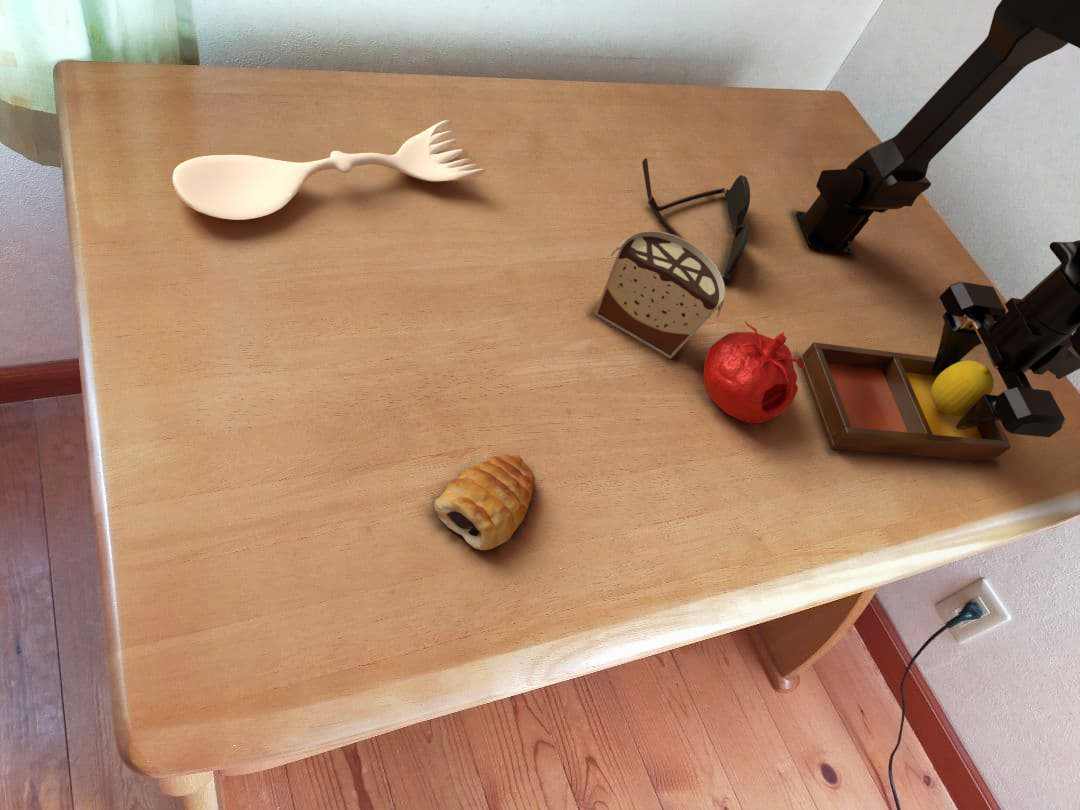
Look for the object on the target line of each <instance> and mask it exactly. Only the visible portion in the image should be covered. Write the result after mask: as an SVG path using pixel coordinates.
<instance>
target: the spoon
mask: <svg viewBox="0 0 1080 810" xmlns="http://www.w3.org/2000/svg"><path fill="white" fill-rule="evenodd" d="M451 125H452V120H451V119H445V120H442V121H440V122H438V123H436V124H433V125H432V126H430V127H429V128H427V129H425V130H424V131H421V132H420V133H418V134H416V135H414V136H412V137H410V138H409V139H407V140H406V141H405V142H403V144H402V145H401V146H400V147H399V150H397V152H396V153H395V154H391V155H390V154H385V153H379V152H360V153H345V152H342V151H340V150H333V151H331V152H330V153H329V154H330V155H329V157H326V158H322V159H318V160H317V159H316V160H312V161H307V162H294V161H288V160H280V159H275V158H267V157H262V156H256V155H247V154H217V155H216V154H213V155H202V156H198V157H197V156H196V157H194V158H190V159H187V160H186V161H183V162H181V163H179V164H178V165H177V166H176V167H175V168H174V170H173V172H172V184H173V187H174V190H175V192H176V194H177V196H178V197H179V198H180V200H181V201H182V202H183V203H184V204H185V205H187V206H188V207H190V208H191V209H193V210H194V211H196V212H199V213H201V214H203V215H206V216H209V217H213V218H218V219H223V220H224V219H225V220H234V221H236V220H238V221H242V220H243V221H244V220H250V219H251V220H252V219H256V218H257V219H258V218H261V217H265V216H268V215H270V214H273V213H275V212H277V211H279V210H281V209H282V208H284V206H286V205H287V204H288V203H289V202H290V201H291V200H292V199H293V198H294V197H295V195H296V194H297V193H298V192H299V190H300V189H301V188H302V186H303V185H304V183H306V182H307V180H308V179H309V178H311V177H312V176H313V175H315V174H316V173H319V172H322V171H326V170H337V171H338V172H340V173H343V174H348V173H350V172H351V171H352V170H353V168H355V167H359V166H365V165H377V166H383V167H387V168H389V169H392V170H395V171H397V172H398V173H401V174H404V175H405V176H409V177H411V178H414V179H417V180H421V181H425V182H433V183H434V182H435V183H436V182H438V183H439V182H449V181H457V180H467V179H474V178H475V179H476V178H479V177H480V176H482V175H484V174H485V173H486V168H477V169H475V168H476V167H477V166H478V164H477V163H470V164H468V163H469V162H471V160H472V158H470V157H468V158H462V159H458V160H454V159H456V158H458V157H459V156H460V155H462V153H463V152H464V149H461V148H459V149H453V150H448V151H445V152H442V151H444V150H446V149H448V148H450V147H452V146H453V145H455V144H456V143H457V142H458V141H459V139H458V138H453V139H449V140H446V139H447V138H449V137H451V136H452V135H454V133H455V130H447V131H443V130H445V129H447V128H448V127H450V126H451ZM441 131H442V132H441ZM445 140H446V141H445ZM452 160H454V161H452Z"/></svg>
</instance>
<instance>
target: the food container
mask: <svg viewBox="0 0 1080 810" xmlns="http://www.w3.org/2000/svg"><path fill="white" fill-rule="evenodd" d="M682 238H683V237H682ZM682 238H680V237H678V236H675V235H672V234H671V233H670V232H669V233H668V232H665V231H659V230H658V231H657V230H645V231H639V232H636V233H634V234H632V235H630V236H628V237H627V238H625V239H624V240H623V241H622V242H620V243H619V244H618V246H617V247H616V248H615V249H614V250H613V251H612V252H611V253H610V257H612V256H613V255H614V254H615V253H616V252H617V251H618V252H617V255H616V257H615V261H614V263H613V266H612V267H611V271H610V274H609V275H608V278H607V281H606V283H605V286H604V289H603V291H602V294H601V296H600V299H599V302H598V304H597V306H596V309H595V312H594V315H595V316H596V317H598V318H599V319H600V320H603V321H605V322H606V323H608V324H610V325H612V326H613V327H614V328H617V329H619V330H620V331H622V332H624V333H625V334H627V335H628V336H630V337H632V338H635V340H638V341H639V342H641V343H643V344H644V345H645V346H648V347H650V348H651V349H653V350H654V351H656V352H658V353H660V354H661V355H663V356H665V357H666V358H669V359H670V360H671V359H672V358H673V357H674V356H675V355H676V354H677V353H678V352H679V351H680V349H682V347H684V346H685V344H686V343H687V342H688V341H689V339H691V338H692V337H693V335H694V334H695V333H697V331H699V329H700V328H701V327H702V326H703V325H704V324H705V323H706V322H707V320H708V319H709V318H711V316H712V315H713V314H714V313H715V312H716V311H717V314H716V318H719V316H720V315H721V314H720V313H721V312H722V309H723V306H724V302H725V295H726V294H725V293H726V290H725V289H726V288H725V281H723V279H722V276H721V274H722V273H721V272H720V270H719V269H718V267H717V265H716V264H715V262H714V261H713V260H712V258H710V257H709V256H708V255H707V254H706V253H705V252H704V251H703V250H701V248H699V247H698V246H697V245H695V244H693V243H691V242H690V241H688V240H687V239H684V238H683V239H682Z"/></svg>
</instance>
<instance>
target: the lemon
mask: <svg viewBox="0 0 1080 810" xmlns="http://www.w3.org/2000/svg"><path fill="white" fill-rule="evenodd" d="M960 361H961V362H957V363H955V364H953V365H951V366H949V367H948V368H946V369H945V370H944V371H942V372H941V373H940V374H939V375H938V377H937V378H936V380H935V381H934V383H933V385H932V389H931V397H932V401H933V403H934V405H935V406H936V409H937V410H938V411H941V412H943V413H944V414H947V415H950V416H964V415H965V414H966V413H967V412H968V411H969V410H970V409H971V408H972V407H973V406H974V404H975V403H976V402H977V401H978V400H979V399H980V398H981V397H982V396H983V395H984V394H986V395H992V393H993V390H994V386H995V381H994V376H993V373H992V372H991V370H990V368H989V367H988V366H987V365H985V364H983V363H981V362H979V361H976V360H960Z"/></svg>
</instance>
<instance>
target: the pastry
mask: <svg viewBox="0 0 1080 810" xmlns="http://www.w3.org/2000/svg"><path fill="white" fill-rule="evenodd" d="M535 488H536V477H535V474H534V472H533V471H532V469H531V468H530V467H529V466H528V464H527V463H525V461H524V459H523V458H522V457H521V456H520V455H515V454H512V455H511V454H501V455H499V456H496V455H495V456H494V455H493V456H490V457H488V458H487V459H486V460H483V461H480V462H478V463H476V464H475V465H474V466H473V467H468V468H466V469H464V470H463V471H462V472H461V473H460V475H459V476H458V477H457V478H455V479H452V480H451V481H450V482H449V483H448V485H447V486H446V488H445V490H444V491H443V493H442V494H441V495H440V496H439V497H437V498H435V500H434V504H433V506H434V511H435V512H436V513H437V514H436V515H437V517H438V518H439V520H440V521H441V522H442V523H443V524H444V525H445V526H446V527H447V528H448V529H450V530H452V531H453V532H454V533H456V534H458V535H460V536H462V537H463V539H464V540H465V542H466V543H467V544H468V545H469V546H471V547H473V549H475V550H479V551H489V550H492V549H494V548H497V547H498V546H500V545H502V544H505V543H506V542H508V541H510V539H511V538H512V536H513V534H514V532H515V531H516V530H517V529H518V526H520V525H521V524H522V522H523V521H524V520H525V515H526V514H527V512H528V510H529V505H530V503H531V500H532V495H533V492H534V490H535Z"/></svg>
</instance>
